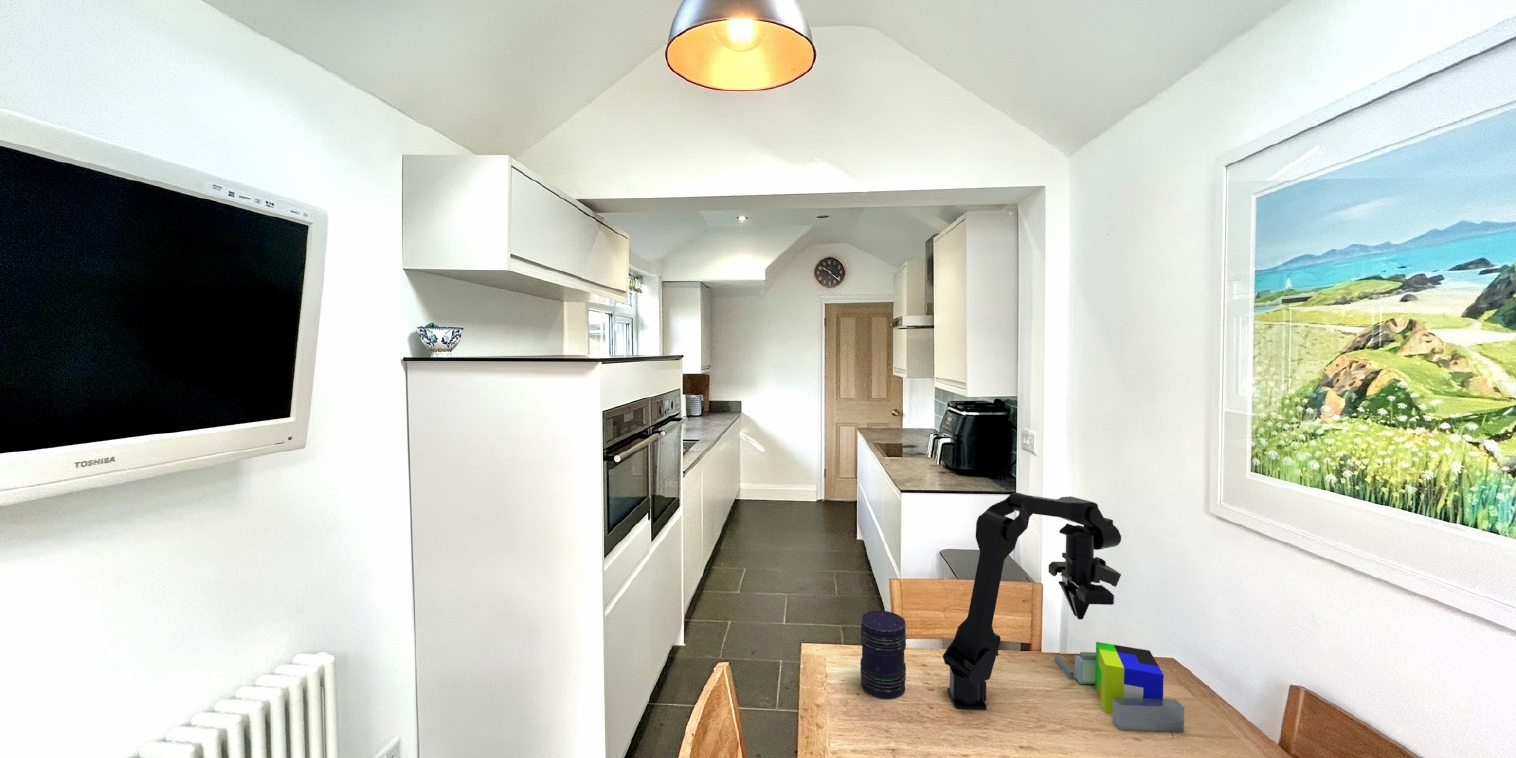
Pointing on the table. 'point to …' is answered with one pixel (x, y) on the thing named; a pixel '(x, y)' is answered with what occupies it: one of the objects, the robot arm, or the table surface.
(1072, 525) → the robot arm
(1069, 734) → the table surface
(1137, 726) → the grey rail base
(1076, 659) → the bar
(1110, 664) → the puzzle toy
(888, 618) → the storage jar
